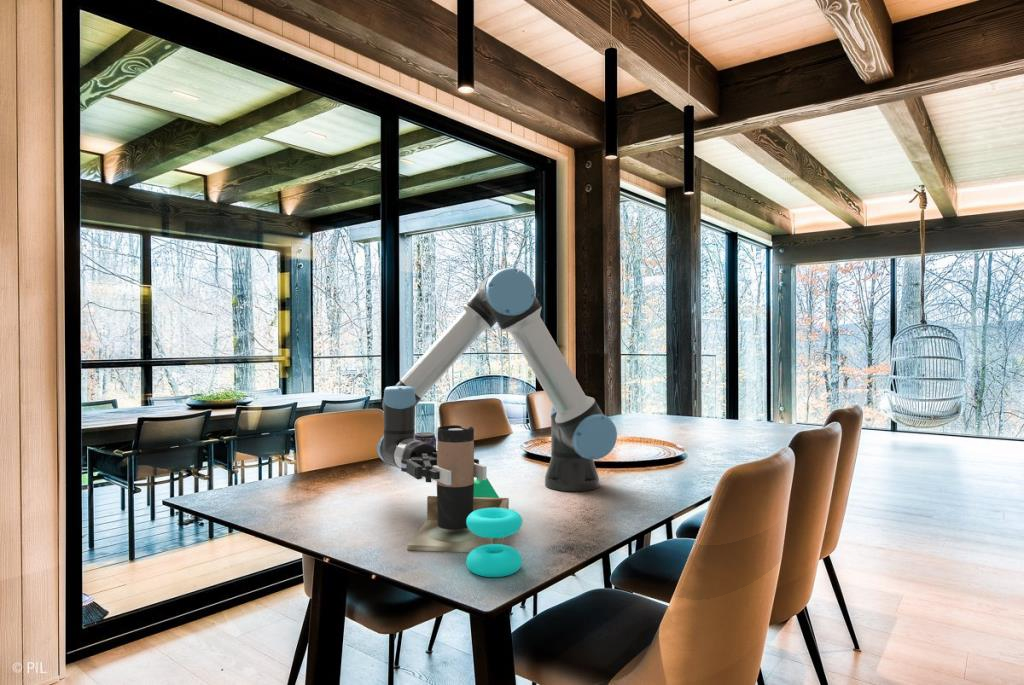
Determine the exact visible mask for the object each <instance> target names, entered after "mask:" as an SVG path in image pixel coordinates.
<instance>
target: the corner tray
mask: <svg viewBox="0 0 1024 685" xmlns="http://www.w3.org/2000/svg"><path fill="white" fill-rule="evenodd" d="M426 498H427V499H426V521H425V522H424V523H423V524H422V525H421V527H420V528H419V530H418V531H417V532H416V533H415V535H414V536H413V537H412V539H410V541H409V542H408V544H407V545H406V548H407V551H422V552H423V551H425V552H454V553H470V552H471V551H472V550H473V549H475V548H477V547H479V546H482V545H487V544H503V545H504V540H505V538H506V537H503V538H485V537H481V536H478V535H476V534H474V533H472V532H471V531H470V530H469V529H468V528H466V529H461V530H447V529H442V528H440V527H439V526H438V516H437V495H427V497H426ZM509 500H510V498H509V497H499V498H486V497H473V511H475V510H478V509H483V508H507V509H510V508H509V505H510V501H509Z"/></svg>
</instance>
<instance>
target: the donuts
mask: <svg viewBox="0 0 1024 685" xmlns="http://www.w3.org/2000/svg"><path fill="white" fill-rule="evenodd" d="M466 524H467V527H468V529H469V530H470V531H471V532H472V533H474V534H476V535H478V536H481V537H485V538H503V537H505V538H507V537H510V536H513V535H515V534H516V533H518V532H519V530H520V529H521V528H522V526H523V517H522V516H521V514H520V513H519V512H517V510H516V511H515V510H514V509H511V508H509V509H507V508H483V509H478V510H475V511H473V512H472V513H470V514H469V515H468V517H467V520H466ZM465 564H466V566H467V569H468V570H469V571H470V572H471V573H473V574H475V575H477V576H480V577H486V578H500V577H501V578H502V577H507V576H511V575H514V574H515V573H517V572H519V569H521V567H522V566H523V557H522V555H521V553H520V552H519V551H518V550H517V549H516V548H514V547H512V546H510V545H508V544H507V545H506V544H504V543H503V544H487V545H482V546H479V547H477V548H475V549H473V550H472V551H471V552H468V554H467V557H466V560H465Z"/></svg>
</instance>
